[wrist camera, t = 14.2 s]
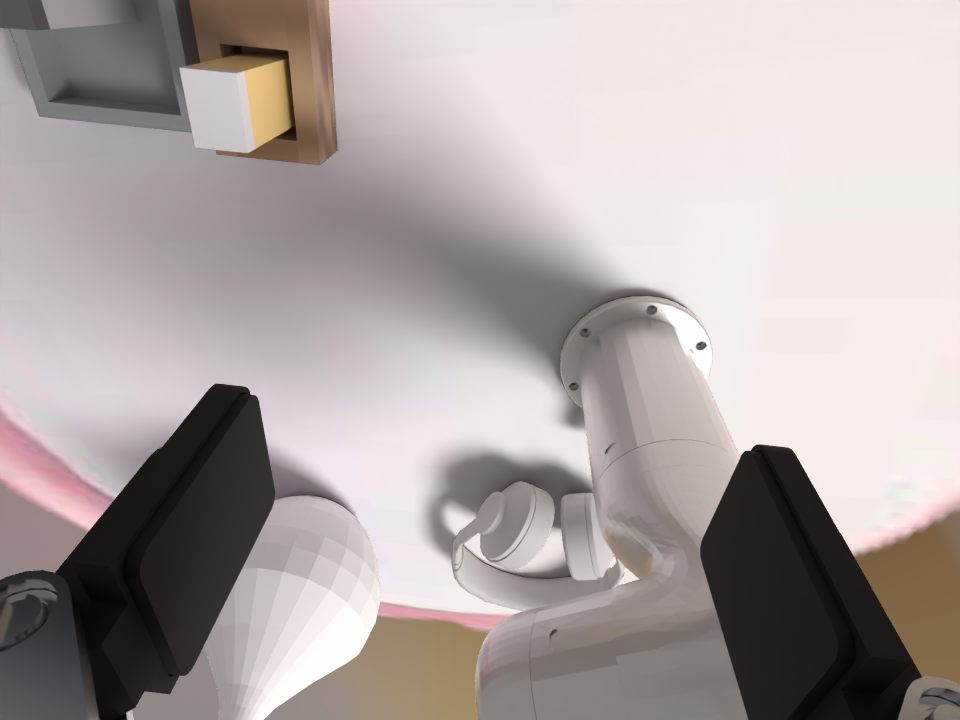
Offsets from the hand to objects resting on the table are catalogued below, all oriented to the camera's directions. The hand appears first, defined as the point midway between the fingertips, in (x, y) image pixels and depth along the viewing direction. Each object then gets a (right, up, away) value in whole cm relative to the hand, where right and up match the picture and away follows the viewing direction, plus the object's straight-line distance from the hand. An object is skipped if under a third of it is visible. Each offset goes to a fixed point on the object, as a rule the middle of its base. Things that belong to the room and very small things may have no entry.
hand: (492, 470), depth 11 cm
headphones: (+6, -17, +51) cm, 54 cm away
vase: (-19, -17, +53) cm, 59 cm away
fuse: (-14, +20, +27) cm, 36 cm away
